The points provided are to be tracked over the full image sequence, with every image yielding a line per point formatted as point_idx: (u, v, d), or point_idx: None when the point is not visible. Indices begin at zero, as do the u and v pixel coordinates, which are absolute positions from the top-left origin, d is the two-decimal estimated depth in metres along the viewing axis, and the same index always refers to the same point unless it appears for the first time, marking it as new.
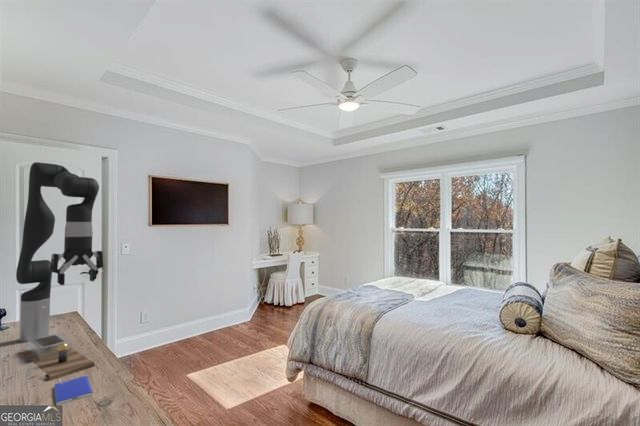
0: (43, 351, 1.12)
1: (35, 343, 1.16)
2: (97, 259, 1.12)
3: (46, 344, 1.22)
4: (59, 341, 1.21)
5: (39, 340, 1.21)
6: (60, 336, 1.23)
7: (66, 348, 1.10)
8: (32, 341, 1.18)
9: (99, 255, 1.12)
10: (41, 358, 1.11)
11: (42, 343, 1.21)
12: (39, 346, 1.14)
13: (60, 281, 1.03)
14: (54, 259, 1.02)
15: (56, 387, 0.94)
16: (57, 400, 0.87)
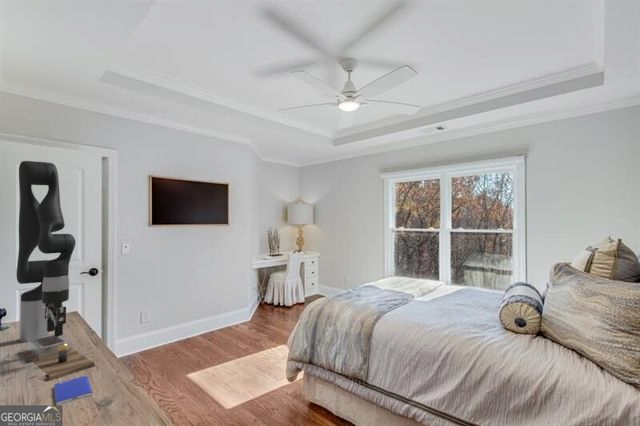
0: (43, 351, 1.12)
1: (35, 343, 1.16)
2: None
3: (46, 344, 1.22)
4: (59, 341, 1.21)
5: (39, 340, 1.21)
6: (60, 336, 1.23)
7: (66, 348, 1.10)
8: (32, 341, 1.18)
9: None
10: (41, 358, 1.11)
11: (42, 343, 1.21)
12: (39, 346, 1.14)
13: None
14: (65, 311, 1.12)
15: (56, 387, 0.94)
16: (57, 400, 0.87)
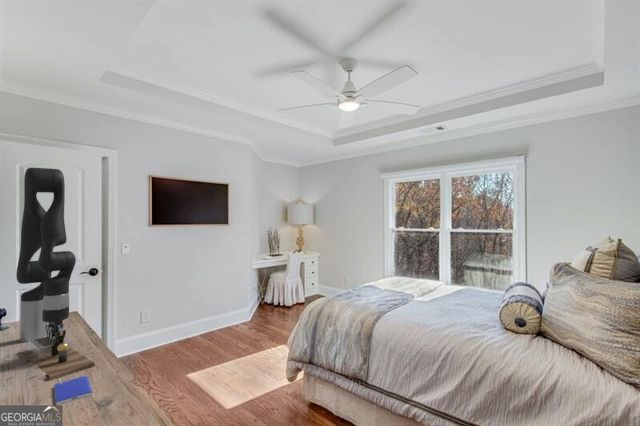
0: (43, 351, 1.12)
1: (35, 343, 1.16)
2: None
3: (46, 344, 1.22)
4: None
5: (39, 340, 1.21)
6: None
7: (66, 348, 1.10)
8: (32, 341, 1.18)
9: None
10: (41, 358, 1.12)
11: (42, 343, 1.21)
12: (39, 346, 1.14)
13: None
14: (64, 334, 1.13)
15: (56, 387, 0.94)
16: (57, 400, 0.87)
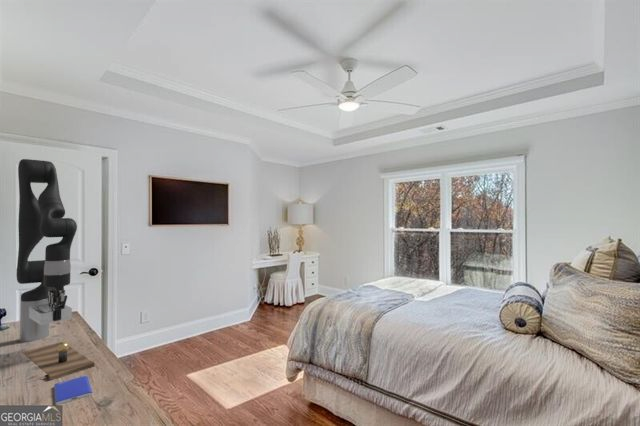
0: (44, 316, 1.12)
1: (36, 309, 1.16)
2: None
3: (47, 312, 1.23)
4: None
5: (40, 307, 1.21)
6: None
7: (66, 348, 1.10)
8: (33, 308, 1.18)
9: None
10: (42, 323, 1.12)
11: (43, 310, 1.22)
12: (41, 311, 1.14)
13: None
14: (65, 300, 1.13)
15: (56, 387, 0.94)
16: (56, 400, 0.87)
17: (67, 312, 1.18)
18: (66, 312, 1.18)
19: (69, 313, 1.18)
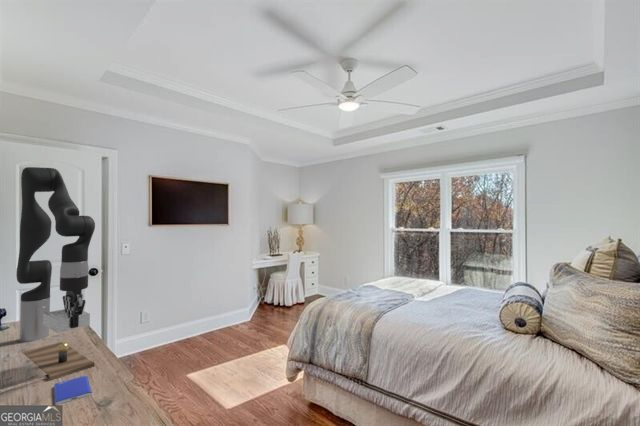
0: (61, 323, 1.03)
1: (51, 315, 1.06)
2: None
3: (62, 318, 1.13)
4: None
5: (55, 313, 1.11)
6: None
7: (66, 348, 1.10)
8: (48, 314, 1.08)
9: None
10: (59, 330, 1.02)
11: (58, 317, 1.12)
12: (56, 318, 1.04)
13: None
14: (83, 305, 1.04)
15: (56, 387, 0.94)
16: (56, 400, 0.87)
17: (85, 318, 1.08)
18: (84, 318, 1.08)
19: (87, 319, 1.08)
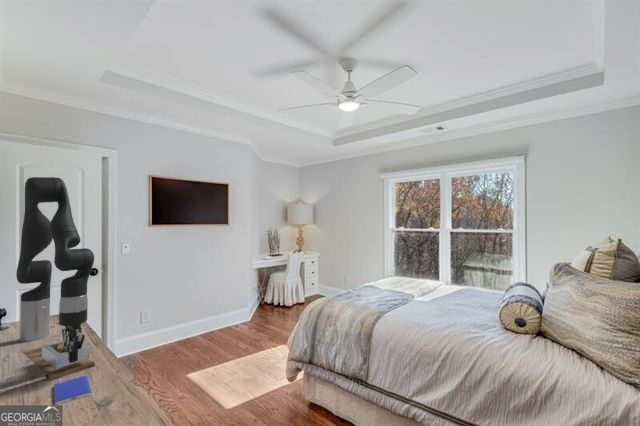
0: (60, 358, 1.02)
1: (50, 349, 1.06)
2: None
3: None
4: None
5: (54, 346, 1.11)
6: None
7: None
8: (47, 347, 1.08)
9: None
10: (58, 366, 1.02)
11: None
12: (56, 352, 1.04)
13: None
14: (83, 339, 1.03)
15: (55, 387, 0.94)
16: (56, 400, 0.88)
17: (84, 352, 1.08)
18: (83, 352, 1.07)
19: (86, 353, 1.08)
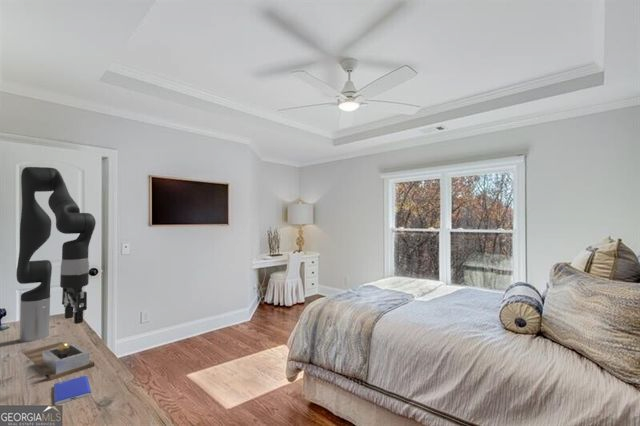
0: (60, 364, 1.02)
1: (51, 355, 1.06)
2: None
3: None
4: (76, 352, 1.12)
5: (54, 351, 1.11)
6: (77, 346, 1.13)
7: (66, 348, 1.10)
8: (47, 352, 1.08)
9: None
10: (58, 372, 1.02)
11: (57, 354, 1.12)
12: (56, 358, 1.04)
13: None
14: (85, 297, 1.03)
15: (55, 387, 0.94)
16: (55, 400, 0.88)
17: (84, 357, 1.08)
18: (83, 357, 1.07)
19: (86, 358, 1.08)
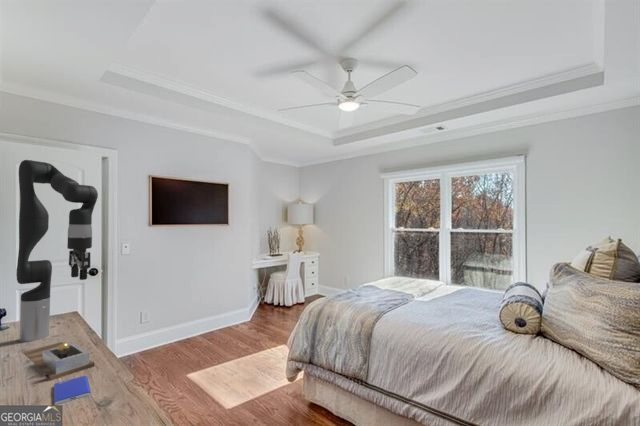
0: (60, 364, 1.02)
1: (51, 355, 1.06)
2: None
3: None
4: (76, 352, 1.12)
5: (54, 351, 1.11)
6: (77, 346, 1.13)
7: (66, 348, 1.10)
8: (47, 352, 1.08)
9: None
10: (58, 372, 1.02)
11: (57, 354, 1.12)
12: (56, 358, 1.04)
13: None
14: (89, 256, 1.19)
15: (55, 387, 0.94)
16: (55, 400, 0.88)
17: (84, 357, 1.08)
18: (83, 357, 1.07)
19: (86, 358, 1.08)
